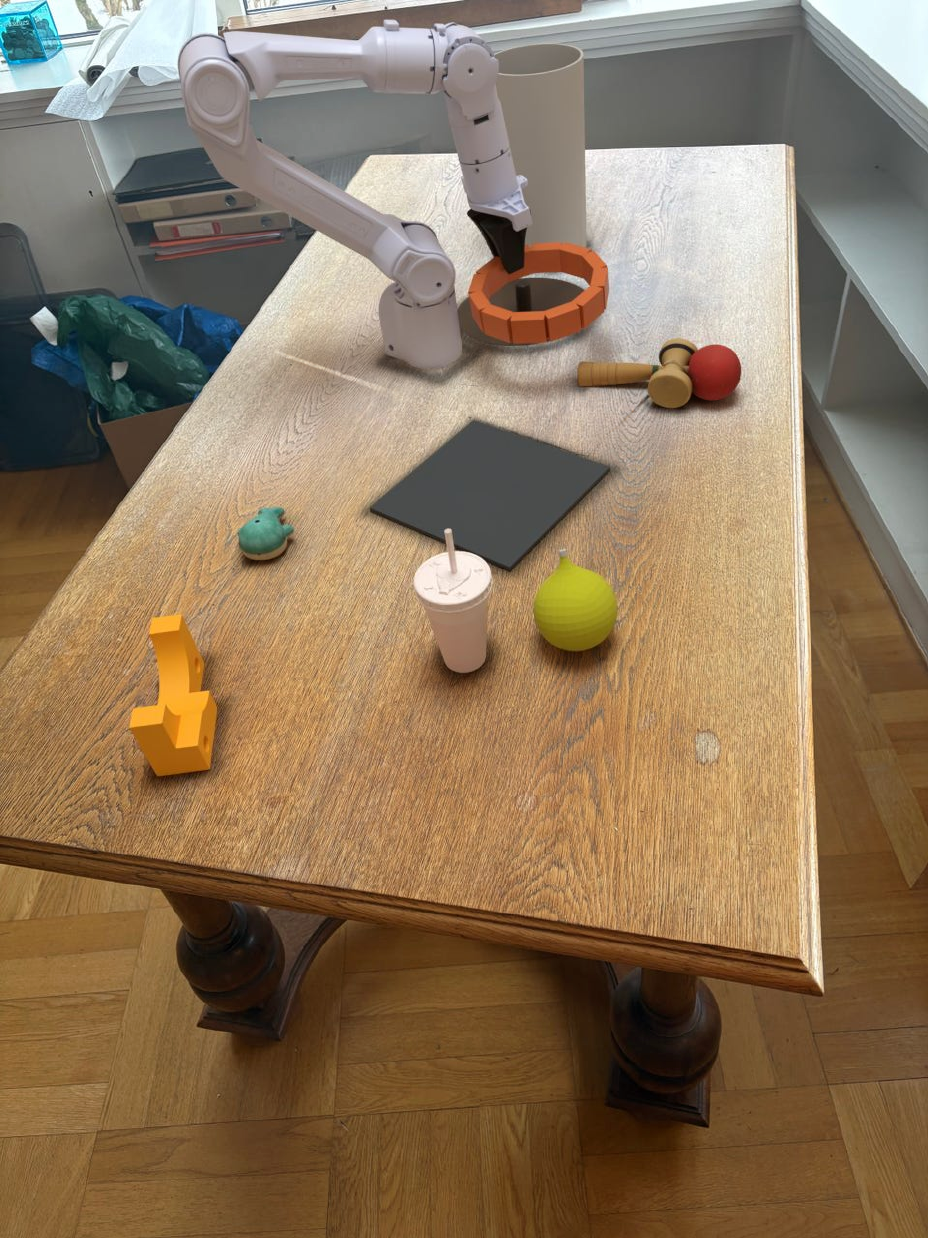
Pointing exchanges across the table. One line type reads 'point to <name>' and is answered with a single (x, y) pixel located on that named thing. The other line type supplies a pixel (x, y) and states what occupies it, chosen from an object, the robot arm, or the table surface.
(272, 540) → the whale figurine
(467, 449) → the mat
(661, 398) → the kendama
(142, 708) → the pipe clamp
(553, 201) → the cylinder vase
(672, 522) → the table surface
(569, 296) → the round disc
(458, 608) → the smoothie
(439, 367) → the robot arm
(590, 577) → the ornament
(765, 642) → the table surface
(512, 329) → the ring
